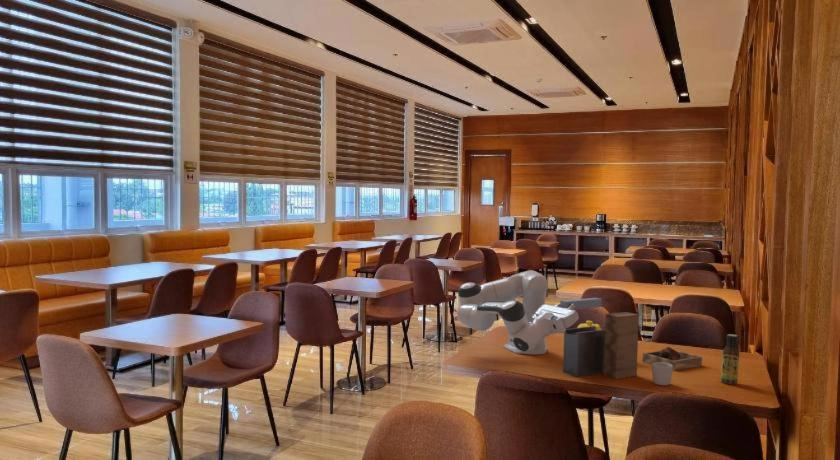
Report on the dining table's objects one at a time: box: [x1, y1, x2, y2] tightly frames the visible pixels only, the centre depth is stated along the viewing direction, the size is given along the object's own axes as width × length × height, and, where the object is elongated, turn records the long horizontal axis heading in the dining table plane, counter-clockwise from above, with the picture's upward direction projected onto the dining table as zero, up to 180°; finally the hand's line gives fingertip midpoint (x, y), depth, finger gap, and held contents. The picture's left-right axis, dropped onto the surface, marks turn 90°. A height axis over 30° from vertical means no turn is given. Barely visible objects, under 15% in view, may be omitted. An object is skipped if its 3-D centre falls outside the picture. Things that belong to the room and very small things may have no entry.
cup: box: [651, 362, 673, 387], centre depth 261 cm, size 11×8×8 cm
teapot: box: [576, 320, 603, 330], centre depth 327 cm, size 20×19×13 cm
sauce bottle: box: [720, 333, 740, 386], centre depth 263 cm, size 6×6×20 cm
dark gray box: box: [562, 326, 605, 378], centre depth 275 cm, size 8×18×18 cm, turn 120°
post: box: [603, 311, 640, 380], centre depth 271 cm, size 7×12×26 cm, turn 120°
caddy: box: [642, 349, 703, 372], centre depth 293 cm, size 17×19×4 cm
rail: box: [559, 297, 602, 311], centre depth 272 cm, size 4×20×4 cm, turn 119°
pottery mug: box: [658, 346, 681, 360], centre depth 294 cm, size 12×10×8 cm
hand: (569, 304), depth 269 cm, fingers closed on rail, 3 cm apart
